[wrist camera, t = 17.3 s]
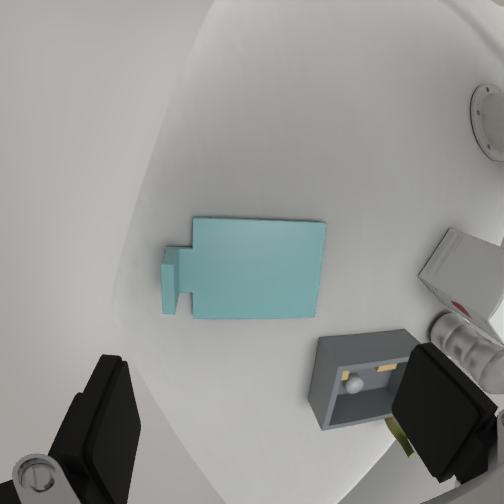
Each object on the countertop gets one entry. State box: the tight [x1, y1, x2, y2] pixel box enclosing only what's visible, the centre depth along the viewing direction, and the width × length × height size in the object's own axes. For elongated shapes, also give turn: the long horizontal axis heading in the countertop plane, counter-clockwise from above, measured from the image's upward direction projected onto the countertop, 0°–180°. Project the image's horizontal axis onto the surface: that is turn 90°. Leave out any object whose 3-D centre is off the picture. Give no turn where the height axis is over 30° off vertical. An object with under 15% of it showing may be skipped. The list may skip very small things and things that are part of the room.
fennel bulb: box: [385, 416, 415, 458], centre depth 41 cm, size 6×5×12 cm
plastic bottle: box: [431, 313, 504, 394], centre depth 34 cm, size 6×7×20 cm
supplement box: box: [418, 228, 504, 345], centre depth 34 cm, size 9×9×15 cm
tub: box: [308, 329, 421, 431], centre depth 39 cm, size 14×11×7 cm
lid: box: [161, 217, 326, 319], centre depth 33 cm, size 18×12×7 cm, turn 87°
